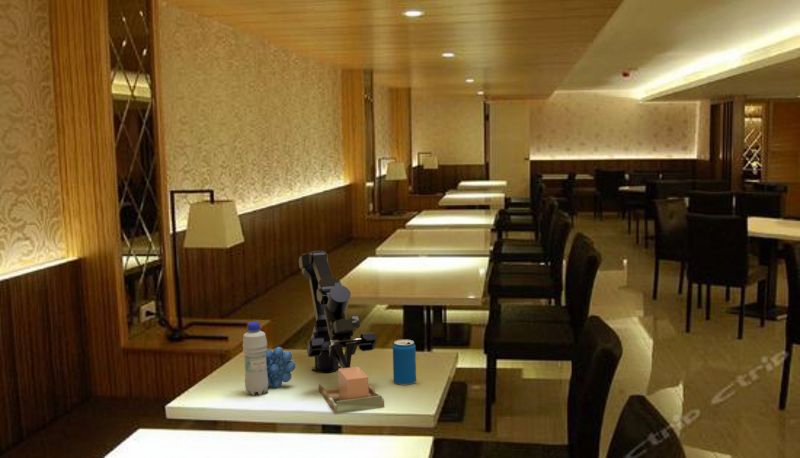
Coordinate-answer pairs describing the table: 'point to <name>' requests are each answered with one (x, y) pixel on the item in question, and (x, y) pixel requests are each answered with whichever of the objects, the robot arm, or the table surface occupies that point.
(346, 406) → the box
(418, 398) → the table surface
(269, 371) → the grapes
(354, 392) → the brick
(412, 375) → the beverage can
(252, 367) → the bottle
